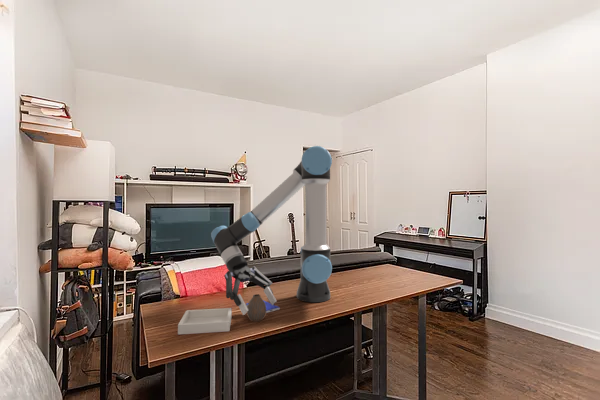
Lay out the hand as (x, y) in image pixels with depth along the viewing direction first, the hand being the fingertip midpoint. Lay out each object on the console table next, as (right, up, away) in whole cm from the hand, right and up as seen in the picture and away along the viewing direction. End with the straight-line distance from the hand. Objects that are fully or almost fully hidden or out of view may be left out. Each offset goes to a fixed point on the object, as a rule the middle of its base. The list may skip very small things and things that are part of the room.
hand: (260, 307), depth 109 cm
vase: (-2, -5, +1) cm, 5 cm away
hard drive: (-1, -6, +15) cm, 16 cm away
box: (-18, -5, -3) cm, 19 cm away
